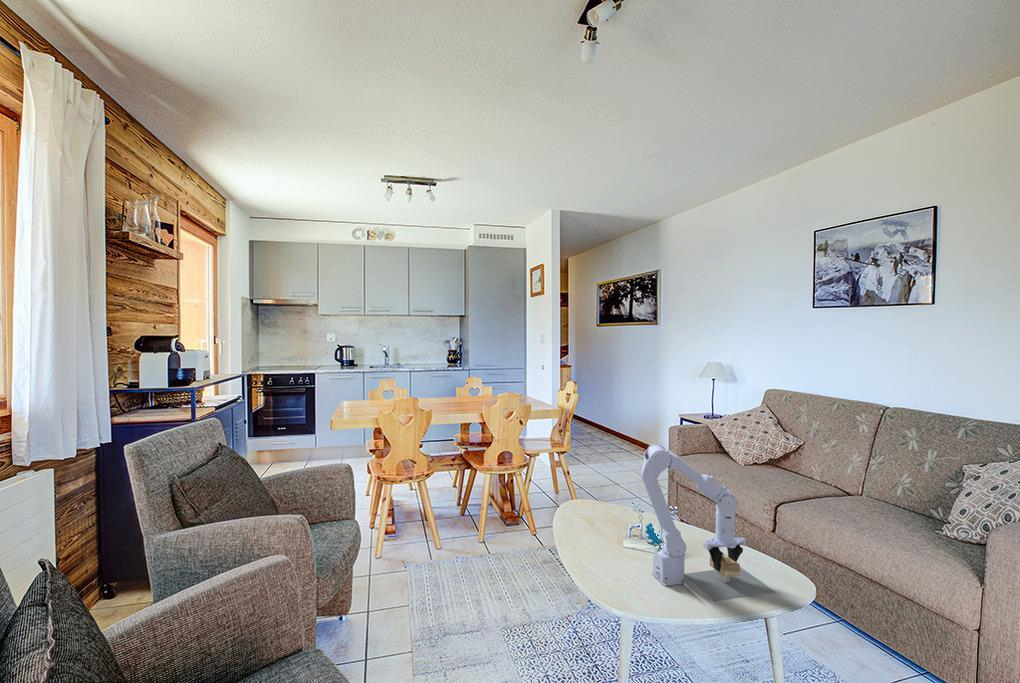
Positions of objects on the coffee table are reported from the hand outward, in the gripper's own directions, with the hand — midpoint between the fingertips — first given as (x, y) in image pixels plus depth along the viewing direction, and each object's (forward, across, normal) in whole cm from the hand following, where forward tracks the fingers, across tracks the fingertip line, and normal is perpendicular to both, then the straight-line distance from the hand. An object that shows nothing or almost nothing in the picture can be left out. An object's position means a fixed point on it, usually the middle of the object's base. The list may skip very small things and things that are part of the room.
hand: (724, 568), depth 154 cm
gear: (+5, -7, +29) cm, 30 cm away
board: (+5, 0, -2) cm, 5 cm away
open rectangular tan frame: (+1, 0, 0) cm, 1 cm away
